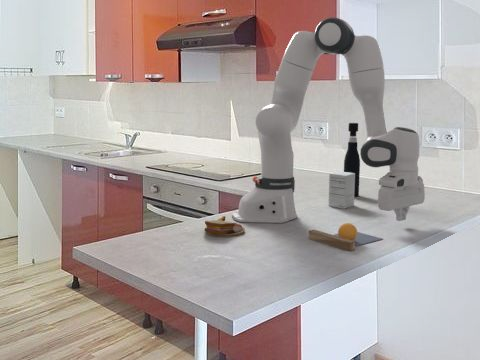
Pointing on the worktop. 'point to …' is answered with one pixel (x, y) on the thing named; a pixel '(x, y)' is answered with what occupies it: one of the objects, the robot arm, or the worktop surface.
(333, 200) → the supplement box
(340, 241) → the rail
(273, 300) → the worktop surface
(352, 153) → the wine bottle
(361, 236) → the slate square
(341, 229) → the ball
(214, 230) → the toy sandwich meal
